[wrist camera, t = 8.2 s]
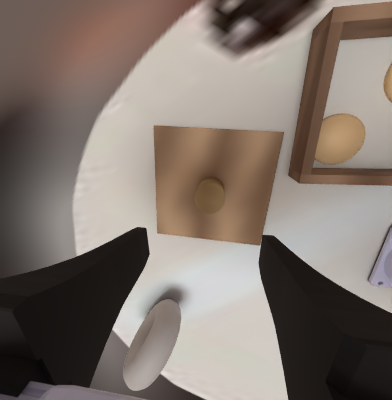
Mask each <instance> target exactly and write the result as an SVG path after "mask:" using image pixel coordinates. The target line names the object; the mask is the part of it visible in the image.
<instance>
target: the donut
mask: <svg viewBox="0 0 392 400" xmlns="http://www.w3.org/2000/svg"><path fill="white" fill-rule="evenodd" d="M180 323H181V312H180V308H179V306H178V305H177V303H176V302H175V301H174V300H171V299H165V300H162V301H160V302H159V303H157V304H156V305H155V306H154V307H153V308H152V310H151V311H150V312H149V314H148V315H147V316H146V318H145V319H144V321H143V323H142V324H141V326H140V328H139V330H138V331H137V333H136V335H135V337H134V339H133V341H132V343H131V345H130V348H129V350H128V353H127V356H126V359H125V362H124V369H123V378H124V381H125V383H126V384H127V386H128V387H129V388H130V389H131V390H134V391H138V390H142V389H145V388H146V387H148V386H149V385H150V384H151V383H152V382H153V381H154V380H155V379H156V378H157V377H158V375H159V374H160V372H161V371H162V369H163V368H164V366H165V365H166V363H167V361H168V359H169V357H170V355H171V353H172V350H173V348H174V345H175V343H176V340H177V337H178V333H179V329H180Z"/></svg>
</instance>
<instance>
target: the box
mask: <svg viewBox="0 0 392 400" xmlns="http://www.w3.org/2000/svg"><path fill="white" fill-rule="evenodd" d="M388 36H392V2H383V3H372V4H362V5H351V6H341V7H333V9H332V10H331V11H330V12H329V13H328V14H327V15H326V16H325V17H324V19H323V20H322V21H321V22H320V23H319V24H318V25H317V26H316V27H315V28H314V30H313V34H312V40H311V46H310V52H309V57H308V63H307V69H306V75H305V81H304V87H303V93H302V98H301V104H300V110H299V116H298V122H297V128H296V134H295V140H294V145H293V151H292V157H291V163H290V169H289V175H288V176H290V177H291V178H293V179H294V180H295V181H297V182H298V183H303V184H346V185H390V186H392V169H341V168H312V167H313V162H314V158H315V153H316V148H317V144H318V139H319V134H320V130H321V125H322V121H323V116H324V111H325V107H326V102H327V97H328V93H329V88H330V83H331V79H332V74H333V69H334V65H335V60H336V56H337V51H338V46H339V42H340V40H347V39H361V38H374V37H388Z"/></svg>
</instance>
